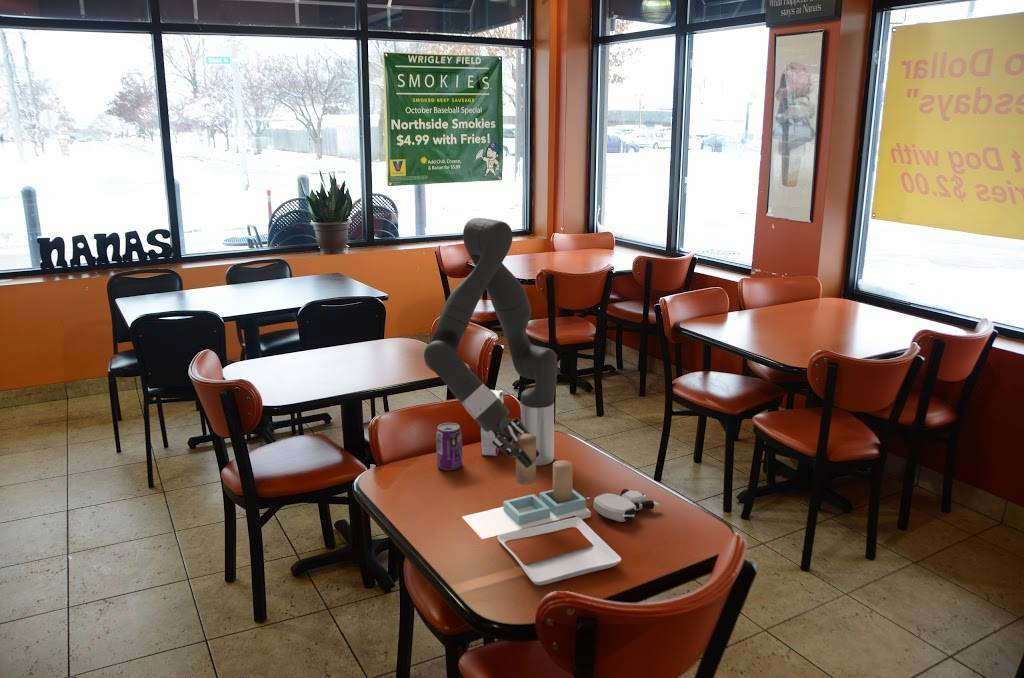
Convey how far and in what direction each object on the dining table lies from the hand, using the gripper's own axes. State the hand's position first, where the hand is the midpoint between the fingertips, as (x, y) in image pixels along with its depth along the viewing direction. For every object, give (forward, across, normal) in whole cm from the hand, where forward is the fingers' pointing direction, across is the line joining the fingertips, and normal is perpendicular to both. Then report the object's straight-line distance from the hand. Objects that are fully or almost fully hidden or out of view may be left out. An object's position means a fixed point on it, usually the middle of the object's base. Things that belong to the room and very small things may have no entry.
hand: (533, 460), depth 193 cm
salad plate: (+19, -15, +4) cm, 24 cm away
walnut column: (+2, 0, +5) cm, 6 cm away
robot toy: (+25, +11, -3) cm, 28 cm away
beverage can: (-11, +23, +34) cm, 42 cm away
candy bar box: (-6, +38, +28) cm, 48 cm away
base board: (+10, 0, +12) cm, 16 cm away
